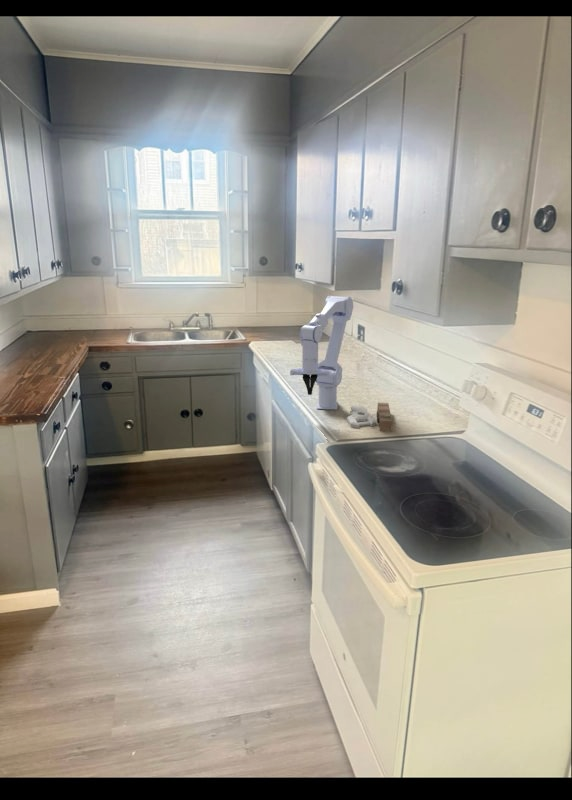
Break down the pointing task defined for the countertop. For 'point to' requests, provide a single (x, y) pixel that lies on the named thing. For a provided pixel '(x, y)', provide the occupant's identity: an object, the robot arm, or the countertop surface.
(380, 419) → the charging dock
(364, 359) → the countertop surface
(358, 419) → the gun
